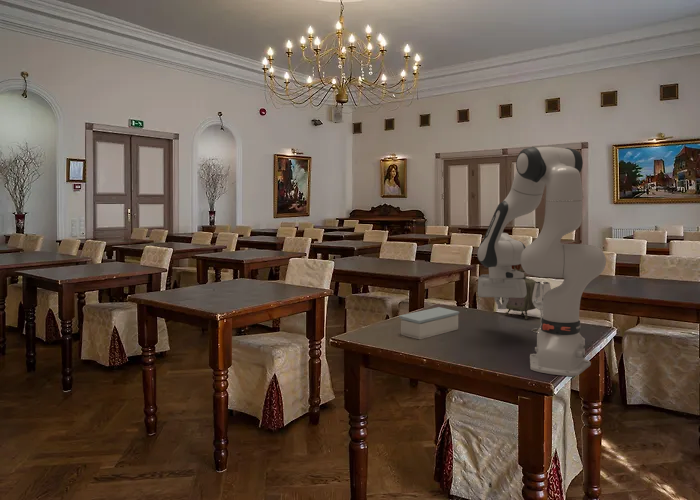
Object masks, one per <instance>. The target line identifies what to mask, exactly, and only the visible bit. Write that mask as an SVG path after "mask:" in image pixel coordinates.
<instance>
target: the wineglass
mask: <svg viewBox="0 0 700 500" xmlns="http://www.w3.org/2000/svg"><path fill="white" fill-rule="evenodd" d="M551 289H552V287H551V283H550V282H548V281H536V282H535V286H534V289H533V294H532V303H533V305H534V307H535V308H536V310H538V311H539V312H540V320H541V319H542V317H543V297H544V295H545V294H546V292H548V291H549V290H551ZM540 331H541V324H540V326H539V328H537V327H536V328H532V329H531V332H533V333H536V334H537V333H539V332H540Z"/></svg>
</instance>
